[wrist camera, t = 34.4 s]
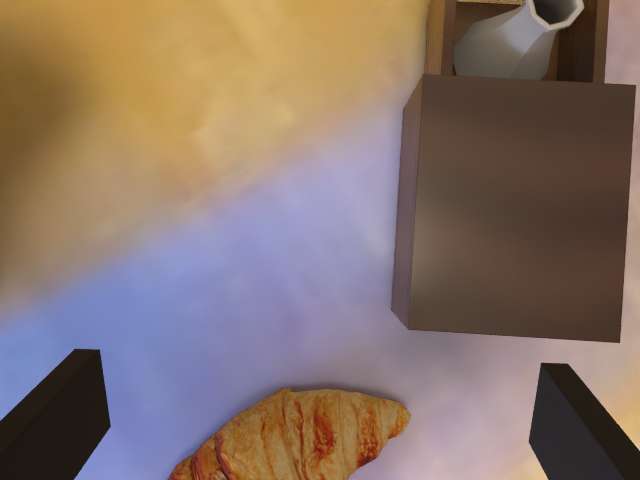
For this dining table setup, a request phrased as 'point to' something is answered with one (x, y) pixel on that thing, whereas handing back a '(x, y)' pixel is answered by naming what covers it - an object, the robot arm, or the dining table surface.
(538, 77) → the flask
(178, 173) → the dining table surface
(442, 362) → the dining table surface
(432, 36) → the drawer
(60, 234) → the dining table surface
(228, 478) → the croissant
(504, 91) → the cabinet
